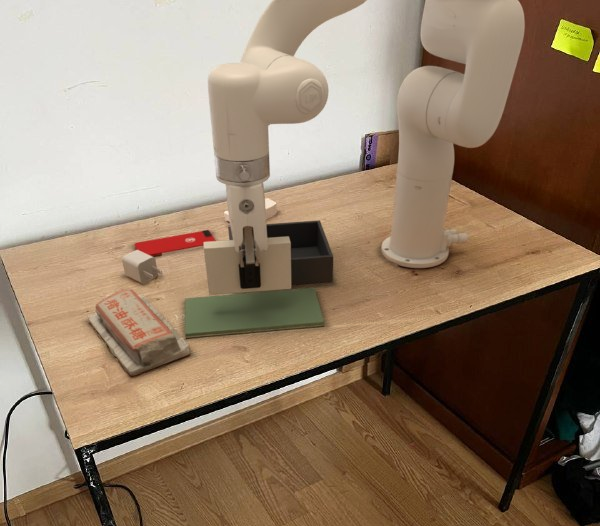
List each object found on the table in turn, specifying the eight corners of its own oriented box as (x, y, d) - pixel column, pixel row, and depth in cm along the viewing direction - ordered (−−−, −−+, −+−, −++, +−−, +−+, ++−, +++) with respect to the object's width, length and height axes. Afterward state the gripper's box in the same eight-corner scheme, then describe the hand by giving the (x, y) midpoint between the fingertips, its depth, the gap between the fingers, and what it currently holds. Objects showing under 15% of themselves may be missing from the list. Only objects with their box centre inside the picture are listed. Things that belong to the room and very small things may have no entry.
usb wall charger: (143, 268, 113) (139, 248, 110) (168, 280, 110) (164, 260, 107) (125, 277, 111) (121, 257, 108) (150, 289, 107) (146, 269, 105)
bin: (319, 247, 119) (320, 220, 115) (332, 284, 108) (333, 256, 104) (230, 253, 117) (228, 226, 113) (234, 292, 106) (232, 264, 103)
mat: (314, 292, 106) (314, 287, 106) (324, 327, 98) (324, 321, 98) (186, 303, 104) (185, 298, 103) (185, 339, 96) (185, 333, 96)
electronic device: (139, 258, 116) (217, 244, 120) (139, 256, 115) (216, 241, 119) (134, 245, 120) (209, 231, 124) (133, 242, 119) (208, 229, 123)
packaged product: (189, 328, 90) (124, 352, 86) (193, 355, 93) (131, 379, 89) (139, 277, 101) (80, 296, 97) (144, 302, 104) (87, 321, 100)
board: (289, 282, 99) (288, 236, 94) (291, 289, 98) (290, 242, 92) (208, 288, 98) (203, 241, 93) (209, 295, 96) (203, 248, 91)
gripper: (275, 186, 79) (279, 308, 91) (264, 144, 91) (268, 256, 103) (217, 189, 79) (228, 311, 91) (213, 147, 91) (223, 259, 103)
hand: (249, 281), depth 97 cm, fingers closed on board, 2 cm apart
